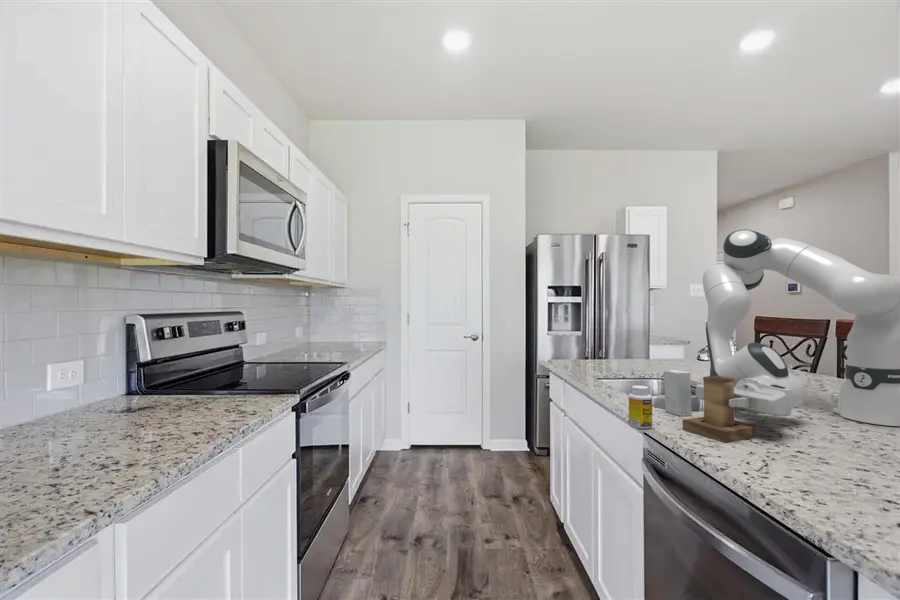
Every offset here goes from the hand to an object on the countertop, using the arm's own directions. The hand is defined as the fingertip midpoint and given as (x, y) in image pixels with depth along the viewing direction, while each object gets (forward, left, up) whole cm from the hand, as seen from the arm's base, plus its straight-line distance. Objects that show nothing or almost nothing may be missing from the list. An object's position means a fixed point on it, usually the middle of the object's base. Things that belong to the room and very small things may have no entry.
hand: (716, 400), depth 107 cm
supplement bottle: (+12, -12, -8) cm, 19 cm away
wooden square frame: (-1, 0, -8) cm, 8 cm away
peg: (-1, 0, -6) cm, 7 cm away
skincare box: (-8, -18, -8) cm, 21 cm away
